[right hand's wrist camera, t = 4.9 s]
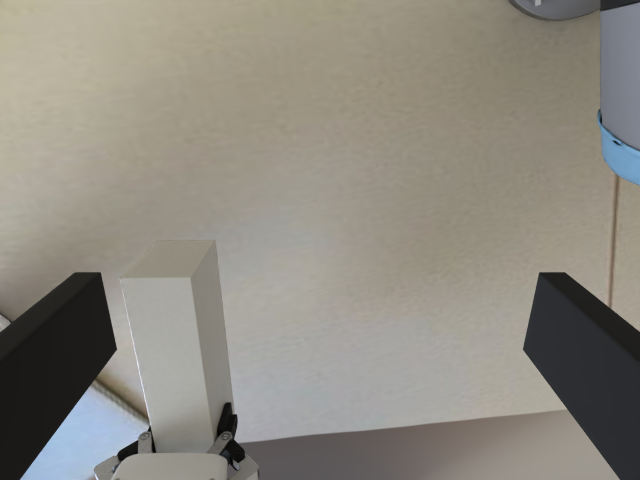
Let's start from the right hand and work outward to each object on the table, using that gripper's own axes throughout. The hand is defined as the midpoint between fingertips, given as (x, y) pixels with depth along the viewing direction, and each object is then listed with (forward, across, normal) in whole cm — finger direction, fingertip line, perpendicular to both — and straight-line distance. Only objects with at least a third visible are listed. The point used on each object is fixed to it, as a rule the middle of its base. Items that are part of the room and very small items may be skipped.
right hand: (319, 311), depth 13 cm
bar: (+28, -13, -20) cm, 37 cm away
